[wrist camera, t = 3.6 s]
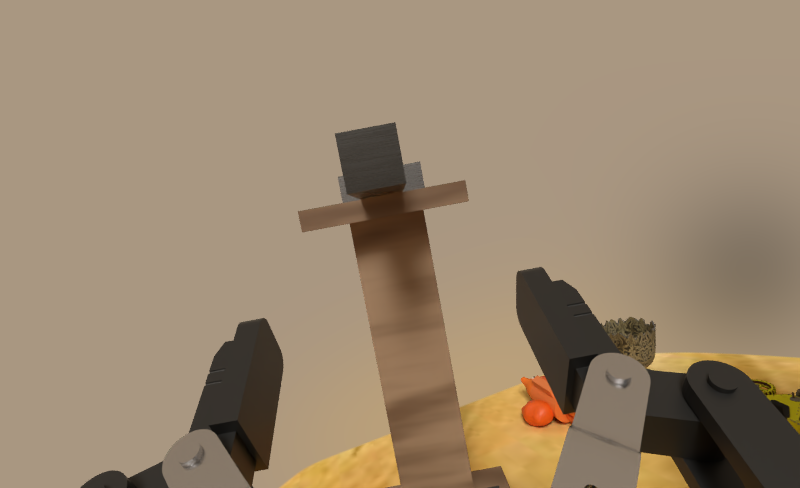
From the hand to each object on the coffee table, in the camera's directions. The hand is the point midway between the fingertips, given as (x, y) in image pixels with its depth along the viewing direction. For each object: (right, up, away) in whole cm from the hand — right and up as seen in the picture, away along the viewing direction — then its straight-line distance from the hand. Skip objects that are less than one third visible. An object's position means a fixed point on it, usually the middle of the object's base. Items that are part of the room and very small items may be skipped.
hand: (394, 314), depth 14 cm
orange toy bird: (+20, -21, +43) cm, 52 cm away
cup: (+35, -18, +50) cm, 64 cm away
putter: (-1, +6, +19) cm, 20 cm away
